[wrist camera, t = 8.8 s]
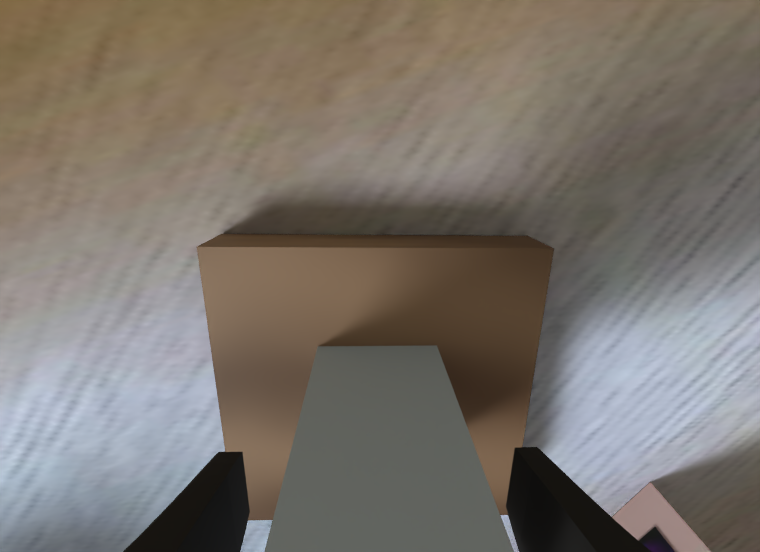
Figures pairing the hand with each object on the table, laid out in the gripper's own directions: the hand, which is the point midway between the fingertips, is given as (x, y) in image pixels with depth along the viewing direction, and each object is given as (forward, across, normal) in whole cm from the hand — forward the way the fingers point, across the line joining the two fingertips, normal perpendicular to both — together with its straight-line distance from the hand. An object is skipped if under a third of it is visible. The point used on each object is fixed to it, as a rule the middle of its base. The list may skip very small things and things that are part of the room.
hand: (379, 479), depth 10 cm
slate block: (+3, 0, 0) cm, 3 cm away
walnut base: (+5, 0, 0) cm, 5 cm away
